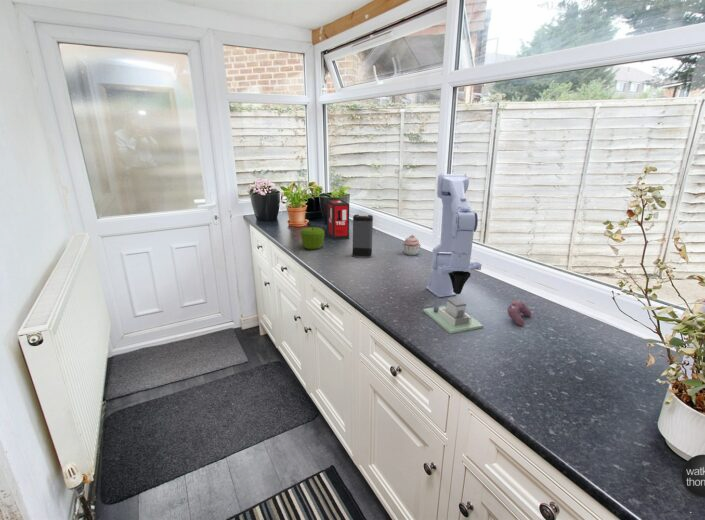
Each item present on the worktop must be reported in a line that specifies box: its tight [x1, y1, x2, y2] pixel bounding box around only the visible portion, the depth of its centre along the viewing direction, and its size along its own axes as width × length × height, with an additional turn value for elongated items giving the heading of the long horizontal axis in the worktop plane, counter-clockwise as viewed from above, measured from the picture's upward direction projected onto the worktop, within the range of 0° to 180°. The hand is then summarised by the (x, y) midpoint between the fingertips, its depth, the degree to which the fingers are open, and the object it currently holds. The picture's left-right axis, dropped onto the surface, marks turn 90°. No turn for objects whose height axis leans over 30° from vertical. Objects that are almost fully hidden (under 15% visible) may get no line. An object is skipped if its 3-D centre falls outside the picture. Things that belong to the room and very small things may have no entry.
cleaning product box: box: [326, 199, 350, 241], centre depth 218 cm, size 16×9×20 cm, turn 17°
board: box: [423, 305, 484, 335], centre depth 121 cm, size 16×12×3 cm
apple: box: [300, 226, 326, 251], centre depth 194 cm, size 12×12×11 cm
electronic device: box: [352, 214, 374, 259], centre depth 181 cm, size 9×6×20 cm, turn 84°
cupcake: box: [402, 234, 422, 256], centre depth 187 cm, size 9×9×10 cm
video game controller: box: [507, 299, 532, 327], centre depth 121 cm, size 10×5×7 cm, turn 141°
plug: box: [445, 297, 467, 318], centre depth 118 cm, size 6×4×6 cm, turn 19°
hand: (456, 292), depth 117 cm, fingers closed
